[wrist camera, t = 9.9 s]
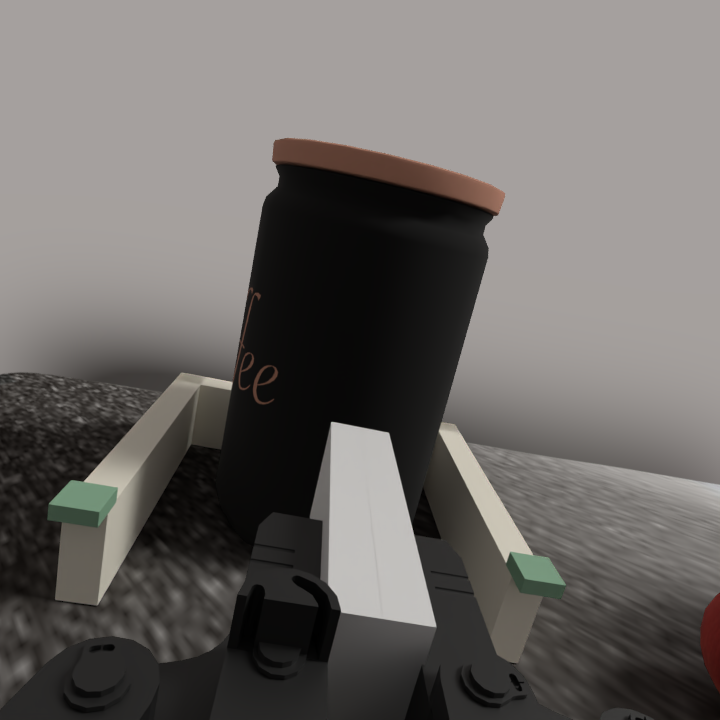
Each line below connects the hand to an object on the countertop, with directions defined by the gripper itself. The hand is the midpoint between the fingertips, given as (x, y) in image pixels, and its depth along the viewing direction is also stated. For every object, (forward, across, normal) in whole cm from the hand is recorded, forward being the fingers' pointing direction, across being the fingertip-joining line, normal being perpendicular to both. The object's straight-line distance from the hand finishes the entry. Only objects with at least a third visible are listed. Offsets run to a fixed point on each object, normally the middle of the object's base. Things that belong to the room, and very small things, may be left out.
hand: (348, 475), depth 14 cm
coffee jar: (+13, 0, -10) cm, 16 cm away
